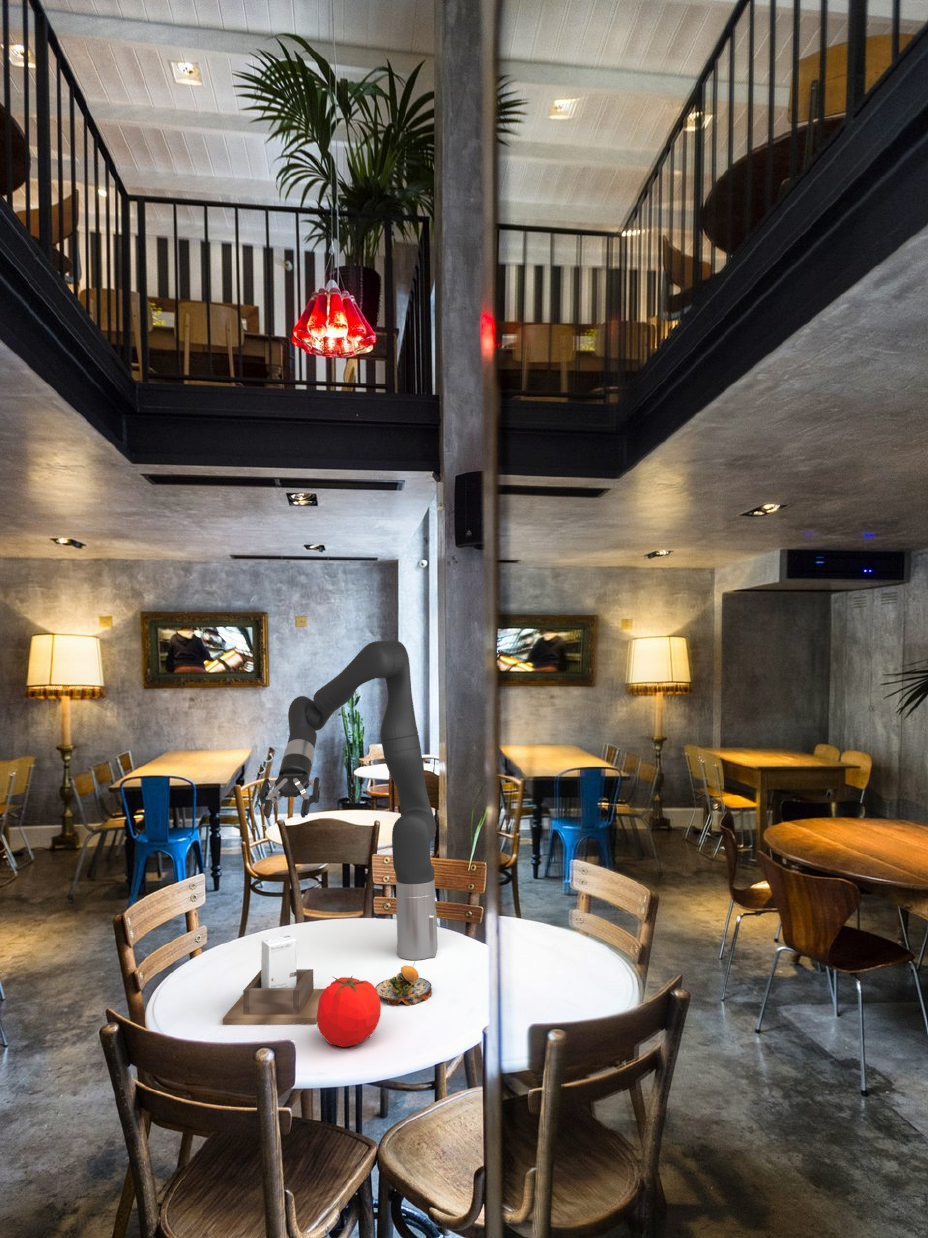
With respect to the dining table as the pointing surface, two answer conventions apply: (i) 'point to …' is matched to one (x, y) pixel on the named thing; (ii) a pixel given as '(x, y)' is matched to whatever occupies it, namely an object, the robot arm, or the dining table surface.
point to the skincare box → (278, 963)
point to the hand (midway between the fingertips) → (284, 816)
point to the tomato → (348, 1011)
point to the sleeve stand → (276, 1003)
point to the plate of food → (405, 988)
